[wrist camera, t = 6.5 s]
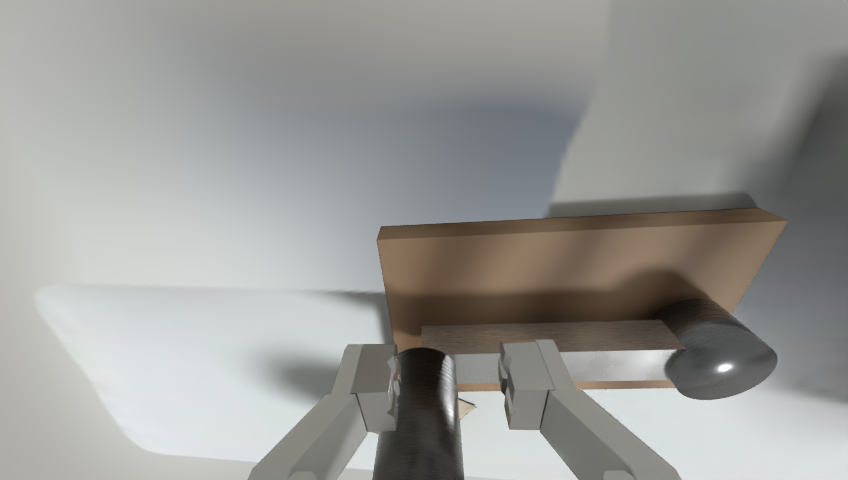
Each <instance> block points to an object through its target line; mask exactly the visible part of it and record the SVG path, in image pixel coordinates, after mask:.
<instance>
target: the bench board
mask: <svg viewBox="0 0 848 480" xmlns="http://www.w3.org/2000/svg"><path fill="white" fill-rule="evenodd" d="M787 222H788V221H787V220H785V219H783V218H780V217H778V216H776V215H774V214H771V213H769V212H767V211H765V210H762V209H760V208H749V209H728V210H708V211H687V212H667V213H647V214H626V215H606V216H585V217H565V218H544V219H524V220H506V221H505V220H504V221H483V222H463V223H442V224H424V225H423V224H422V225H402V226H381V228H380V231H379V234H378V238H377V245H378V250H379V256H380V262H381V268H382V274H383V279H384V286H385V292H386V297H387V303H388V309H389V315H390V321H391V327H392V333H393V338H394V344H397V348H398V353H400V352H402V351H404V350H406V349H410V348H417V347H421V336H422V326H445V325H481V324H518V323H555V322H592V321H628V320H648V319H649V318H650V317H651V316H652V315H653V314H655V313H656V312H657V311H659V310H660V309H662V308H664V307H666V306H668V305H670V304H673V303H675V302H678V301H682V300H687V299H696V298H697V299H708V300H712V301H714V302H716V303H718V304H719V305H720V306H721V307H723V308H724V309H725V310H726V311H727V312H729V313H730V314H731V315H732V313H733V312H734V310H735V308H736V307H737V305H738V303H739V302H740V300H741V298H742V297H743V295H744V293H745V292H746V290H747V288H748V287H749V285H750V283H751V282H752V280H753V278H754V277H755V275H756V273H757V272H758V270H759V268H760V267H761V265H762V263H763V262H764V260H765V258H766V257H767V255H768V253H769V252H770V250H771V249H772V247H773V245H774V244H775V242H776V240H777V239H778V237H779V235H780V234H781V232H782V230H783V229H784V227H785V225H786V224H787ZM573 384H574V386H575V389H576V390H580V389H637V388H676V387H675V386H674V384H673V383H672V382H671V380H646V381H586V382H573ZM457 390H458V392H465V391H501V388H500V383H465V384H457Z"/></svg>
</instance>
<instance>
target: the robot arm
mask: <svg viewBox="0 0 848 480" xmlns="http://www.w3.org/2000/svg"><path fill="white" fill-rule="evenodd" d="M499 350H500V355H501V357H500V358H499V359H498V375H499V382H500V388H501V392H502V393H503V394H504V395H505V404H504V407H505V411H506V416H507V421H508V425H509V429H510V430H540V432H541V434H542V435H543V436H544V437H545V439H546V440H547V441H548V442H549V444H550V445H551V446H552V447H553V448H554V450H555V451H556V452H557V453H558V455H559V456H560V457H561V458H562V460H563V461H564V462H565V463H566V465H567V466H568V467H569V468H570V470H571V471H572V472H573V473H574V475H575V476H576V477H577V478H578V479H579V480H682V479H681V478H680V476H679V474H678V473H677V471H676V469H675V468H674V467H672V466H671V465H670V464H669V463H668V462H666V461H665V460H664V459H663V458H662V457H660V456H659V455H658V454H657V453H656V452H655V451H653V450H652V449H651V448H650V447H649V446H647V445H646V444H645V443H644V442H643V441H642V440H640V439H639V438H638V437H637V436H636V435H634V434H633V433H632V432H631V431H630V430H628V429H627V428H626V427H625V426H624V425H623V424H621V423H620V422H619V421H618V420H617V419H615V418H614V417H613V416H612V415H611V414H609V413H608V412H607V411H606V410H605V409H604V408H602V407H601V406H600V405H599V404H598V403H596V402H595V401H594V400H593V399H592V398H591V397H589V396H588V395H587V394H586V393H585V392H583V391H582V390H576V389H575V386H574V384H573V382H572V380H571V377H570V375H569V373H568V371H567V368H566V366H565V364H564V362H563V359H562V357H561V355H560V353H559V350H558V348H557V346H556V344H555V342H554V341H553V340H552V339H543V340H508V341H501V342H500V347H499ZM397 358H398V348H397V344H349V345H348V346H347V347H346V349H345V351H344V354H343V357H342V360H341V364H340V367H339V370H338V373H337V377H336V380H335V383H334V386H333V389H332V393H331V394H328V395H325V396H324V397H323V398H322V399H321V400H320V401H319V402H318V403H317V404H316V405H315V406H314V407H313V408H312V409H311V410H310V411H309V412H308V413H307V414H306V415H305V416H304V417H303V418H302V419H301V420H300V421H299V422H298V424H297V425H296V426H295V427H294V428H293V429H292V430H291V431H290V432H289V433H288V434H287V435H286V436H285V437H284V438H283V439H282V440H281V441H280V442H279V443H278V444H277V445H276V446H275V447H274V448H273V449H272V450H271V451H270V452H269V453H268V454H267V455H266V456H265V457H264V458H263V459H262V460H261V461H260V462H259V463H258V464H257V465H256V466H255V467H254V468H253V469H252V471H251V473H250V475H249V478H248V480H337V479H338V477H339V476H340V474H341V473H342V471H343V470H344V468H345V467H346V465H347V464H348V462H349V461H350V459H351V458H352V456H353V455H354V453H355V452H356V450H357V449H358V447H359V446H360V444H361V443H362V441H363V440H364V438H365V437H366V435H367V432H376V431H396V428H397V419H398V409H399V407H398V401H397V396H398V395H399V394H400V389H401V366H400V361H399V360H397Z"/></svg>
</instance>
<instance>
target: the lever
mask: <svg viewBox="0 0 848 480" xmlns="http://www.w3.org/2000/svg"><path fill="white" fill-rule="evenodd" d="M543 339H552V340H553V341H554V342H555V344H556V346H557V348H558V350H559V353H560V355H561V357H562V359H563V362H564V364H565V366H566V368H567V371H568V373H569V375H570V377H571V380H572V382H586V381H646V380H671V382H672V383H673V384H674V386H675V387H676V388H677V390H678V391H679V392H680V393H681V394H683V395H684V396H686V397H689V398H693V399H699V400H713V399H721V398H726V397H730V396H733V395H736V394H739V393H742V392H744V391H747V390H749V389H751V388H753V387H755V386H756V385H758V384H759V383H761V382H762V381H764V380H765V379H766V378H767V377H768V376H769V375H770V374H771V373H772V372H773V370H774V369H775V367H776V364H777V355H776V353H775V351H774V350H772V349H771V348H770V347H769V346H768V345H767V344H765V343H764V342H763V341H762V340H761V339H760V338H758V337H757V336H756V335H755V334H754V333H752V332H751V331H750V330H749V329H748V328H746V327H745V326H744V325H743V324H742V323H741V322H739V321H738V320H737V319H736V318H735V317H733V316H732V315H731V314H730V313H729V312H727V311H726V310H725V309H724V308H723V307H721V306H720V305H719V304H718V303H716V302H714V301H712V300H708V299H697V298H696V299H687V300H682V301H678V302H675V303H673V304H670V305H668V306H666V307H664V308H662V309H660V310H659V311H657V312H656V313H655V314H653V315H652V316H651V317H650V318H649V319H648V320H628V321H592V322H555V323H518V324H481V325H445V326H422V336H421V347H417V348H410V349H406V350H404V351H402V352H400V353H398V358H397V360H399V361H400V366H401V389H400V394H399V395H398V396H397V401H398V407H399V409H398V419H397V428H396V431H379V437H378V444H377V451H376V458H375V465H374V472H373V479H372V480H464V470H463V456H462V443H461V430H460V416H459V403H458V390H457V384H465V383H500V382H499V375H498V359H499V358H500V357H501V355H500V350H499V347H500V342H501V341H508V340H543Z"/></svg>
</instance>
